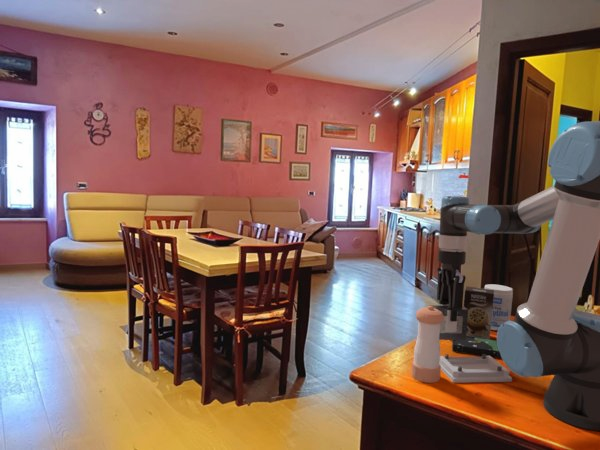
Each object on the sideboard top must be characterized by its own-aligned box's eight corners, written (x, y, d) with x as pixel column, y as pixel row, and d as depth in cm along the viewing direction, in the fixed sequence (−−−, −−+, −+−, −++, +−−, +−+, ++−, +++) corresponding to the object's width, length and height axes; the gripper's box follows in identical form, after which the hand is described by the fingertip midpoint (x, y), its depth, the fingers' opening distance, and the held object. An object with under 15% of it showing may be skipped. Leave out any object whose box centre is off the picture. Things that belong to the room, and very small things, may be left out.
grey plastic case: (466, 340, 131) (468, 309, 130) (432, 339, 130) (434, 309, 129) (459, 335, 135) (462, 305, 134) (427, 335, 134) (429, 305, 134)
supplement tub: (488, 331, 157) (491, 290, 155) (475, 322, 166) (478, 283, 165) (514, 332, 158) (518, 290, 156) (500, 323, 167) (504, 284, 166)
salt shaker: (410, 369, 124) (415, 301, 122) (438, 372, 123) (443, 303, 120) (412, 381, 117) (417, 308, 115) (441, 384, 115) (447, 311, 113)
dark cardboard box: (460, 337, 151) (464, 289, 149) (461, 331, 157) (465, 285, 155) (489, 342, 147) (494, 293, 145) (489, 335, 153) (494, 289, 151)
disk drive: (452, 353, 138) (505, 360, 133) (452, 344, 138) (505, 351, 133) (451, 341, 148) (501, 348, 143) (452, 333, 147) (501, 339, 143)
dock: (511, 381, 119) (512, 370, 118) (453, 382, 117) (454, 370, 116) (487, 362, 130) (488, 351, 130) (434, 363, 129) (435, 352, 128)
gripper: (479, 254, 122) (474, 338, 124) (451, 245, 139) (447, 320, 141) (453, 254, 122) (447, 338, 124) (428, 245, 139) (423, 320, 141)
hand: (447, 328), depth 132 cm, fingers closed on grey plastic case, 4 cm apart
